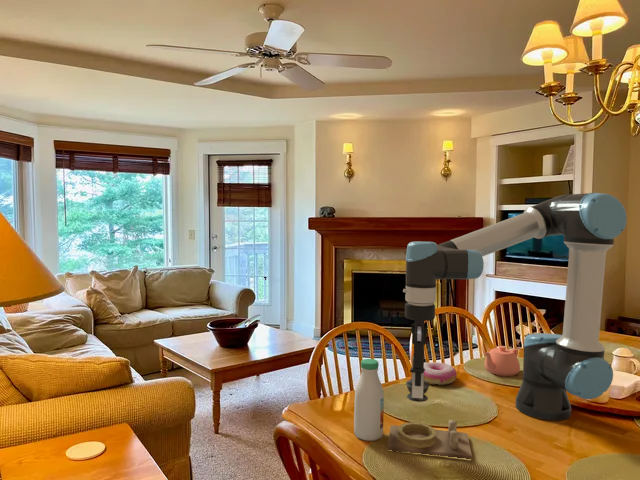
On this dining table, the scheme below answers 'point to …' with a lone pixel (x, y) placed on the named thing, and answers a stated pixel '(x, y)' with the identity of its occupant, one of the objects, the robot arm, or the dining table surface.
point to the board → (435, 448)
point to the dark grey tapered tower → (409, 386)
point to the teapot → (502, 361)
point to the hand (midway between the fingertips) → (417, 392)
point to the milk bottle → (369, 403)
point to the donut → (439, 373)
